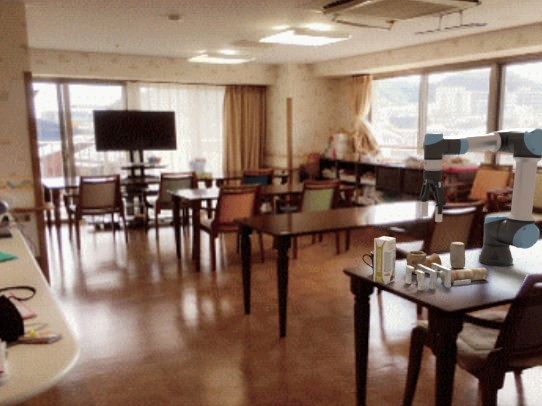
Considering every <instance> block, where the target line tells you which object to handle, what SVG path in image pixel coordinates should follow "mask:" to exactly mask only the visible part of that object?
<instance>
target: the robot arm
mask: <svg viewBox="0 0 542 406" xmlns="http://www.w3.org/2000/svg"><path fill="white" fill-rule="evenodd" d="M423 139H424V140H423V143H422V148H423V162H422V165H423V177H422V178H423V180H422V186H421V190H420V194H419V198H418V199H419V200H420V202H421V213H420V215H421V217H422V218H423V217H427V218H428V216H429V198H430V196H431V194H433V198H434V201H435V216H434V222H436V223H442V222H443V212H444V211H443V207H444V206H447V203H446V198H445V197H446V196H445V192H444V189H443V188H444V186H443V182H442V181H441V182H440V181H439V180H441V179H443V171H442V169H443V161H444V160H443V156H461V155H465V154H467V153H468V152H471V153H472V152H481V151H484V152H485V151H490V152H491V153H506V154H512V158H513V159H514V161H515V169H514V170H515V171H514V178H513V179H514V181H513V187H512V198H511V209H510V214H509V215H506V214H505V215H488V216H486V217H485V218H484V223H483V244H482V245H483V246H482V248H481V251H480V254H479V255H478V262H479V263H481V264H485V265H490V266H494V267H495V266H496V267H498V266H499V267H508V266H512V265H513V264H514V259H513V255H512V252H511V248H510V246H512V247H515V248H517V249H524V250H525V249H527V250H528V249H530V248H532V247H533V246H535V245H536V244H537V243H538V241H539V239H540V234H541V233H540V232H541V231H540V229H539V227H538V226H537V225H536V224H535V223H536V219H535V218H534V217H533V207H534V197H535V189H536V178H537V171H538V163H539V162H540V161H541V160H542V128H537V127H522V128H517V127H516V128H515V127H514V128H509V129H504V130H497V131H491V132H489V133H486V134H485V133H484V134H469V135H468V134H467V135H466V134H465V135H452V136H450V135H449V136H444V134H443V133H442V132H435V133H434V132H431V133H430V132H427V133H425V134H424V138H423Z"/></svg>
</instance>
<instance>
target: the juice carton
mask: <svg viewBox="0 0 542 406" xmlns="http://www.w3.org/2000/svg"><path fill="white" fill-rule="evenodd" d="M373 240H374V242H373V243H374V244H373V251H374V274H373V282H374V283H378V284H382V285H388V284H391V283H393V282H395V279H396V256H397V254H396V253H397V252H396V251H397V245H396V244H397V242H396V240H397V239H396V237H391V236H385V235H383V236H380V237H377V238H376V237H375V238H374V239H373Z"/></svg>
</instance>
